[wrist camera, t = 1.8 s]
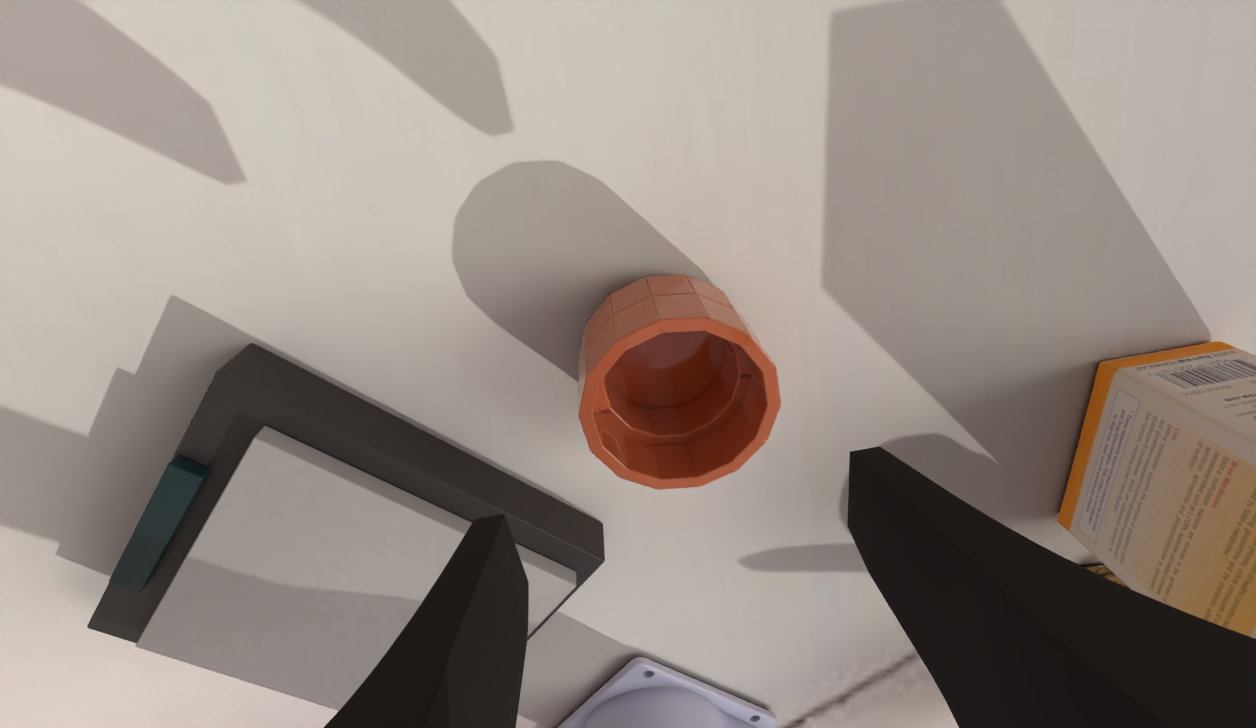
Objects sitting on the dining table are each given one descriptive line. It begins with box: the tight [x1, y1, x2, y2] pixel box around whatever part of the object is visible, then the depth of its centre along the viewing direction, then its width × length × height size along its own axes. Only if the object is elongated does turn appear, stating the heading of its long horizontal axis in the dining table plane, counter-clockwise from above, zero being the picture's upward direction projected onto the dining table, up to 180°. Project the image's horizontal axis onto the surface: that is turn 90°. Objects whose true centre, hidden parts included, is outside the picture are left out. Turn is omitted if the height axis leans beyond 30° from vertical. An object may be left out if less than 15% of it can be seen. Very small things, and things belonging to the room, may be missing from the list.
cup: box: [579, 275, 781, 489], centre depth 18 cm, size 6×6×4 cm
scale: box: [87, 343, 605, 711], centre depth 21 cm, size 14×13×3 cm
